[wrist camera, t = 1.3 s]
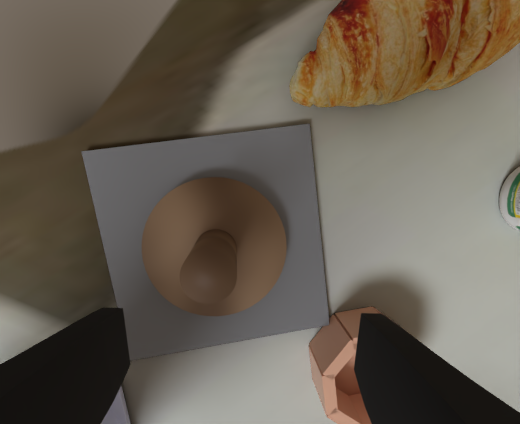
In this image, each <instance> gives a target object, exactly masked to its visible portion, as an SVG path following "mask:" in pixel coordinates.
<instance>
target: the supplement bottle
mask: <svg viewBox="0 0 520 424" xmlns="http://www.w3.org/2000/svg"><path fill="white" fill-rule="evenodd" d="M499 206H500V211H501V214H502V216H503V218H504V219H505V221H506V222H507V223H508V224H509V225H510V226H511V227H512V228H514V229H516V230H519V231H520V166H519V167H518V168H517V169H515V170H514V171H513V172H512V173H511V174H510V175H509V176H508V177H507V179H506V180H505V182H504V184H503V186H502V189H501V192H500V197H499Z"/></svg>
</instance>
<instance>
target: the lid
mask: <svg viewBox="0 0 520 424" xmlns="http://www.w3.org/2000/svg"><path fill="white" fill-rule="evenodd" d="M286 249H287V245H286V235H285V230H284V227H283V224H282V221H281V219H280V217H279V215H278V213H277V211H276V210H275V208H274V207H273V205H272V204H271V203H270V202H269V201H268V200H267V199H266V198H265V197H264V196H263V195H262V194H261V193H260V192H258V191H257V190H255V189H254V188H252V187H251V186H249V185H247V184H245V183H243V182H240V181H237V180H234V179H229V178H222V177H208V178H201V179H196V180H192V181H189V182H186V183H184V184H182V185H180V186H178V187H176V188H175V189H173V190H172V191H170V192H169V193H168V194H166V195H165V196H164V197H163V198H162V199H161V200H160V201H159V202H158V204H157V205H156V206H155V207H154V209H153V210H152V212H151V213H150V215H149V217H148V220H147V222H146V224H145V228H144V231H143V236H142V258H143V263H144V266H145V270H146V272H147V274H148V277H149V279H150V280H151V282H152V284H153V285H154V287H155V288H156V289H157V290H158V292H159V293H160V294H161V295H162V296H163V297H164V298H165V299H167V300H168V301H169V302H171V303H172V304H173V305H175V306H177V307H179V308H180V309H182V310H185V311H187V312H190V313H193V314H197V315H203V316H225V315H230V314H235V313H238V312H240V311H243V310H245V309H247V308H249V307H251V306H253V305H254V304H256V303H257V302H259V301H260V300H261V299H262V298H264V297H265V296H266V295H267V294H268V293H269V291H270V290H271V289H272V288H273V286H274V285H275V284H276V282H277V280H278V278H279V276H280V275H281V272H282V269H283V267H284V263H285V258H286Z"/></svg>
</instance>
